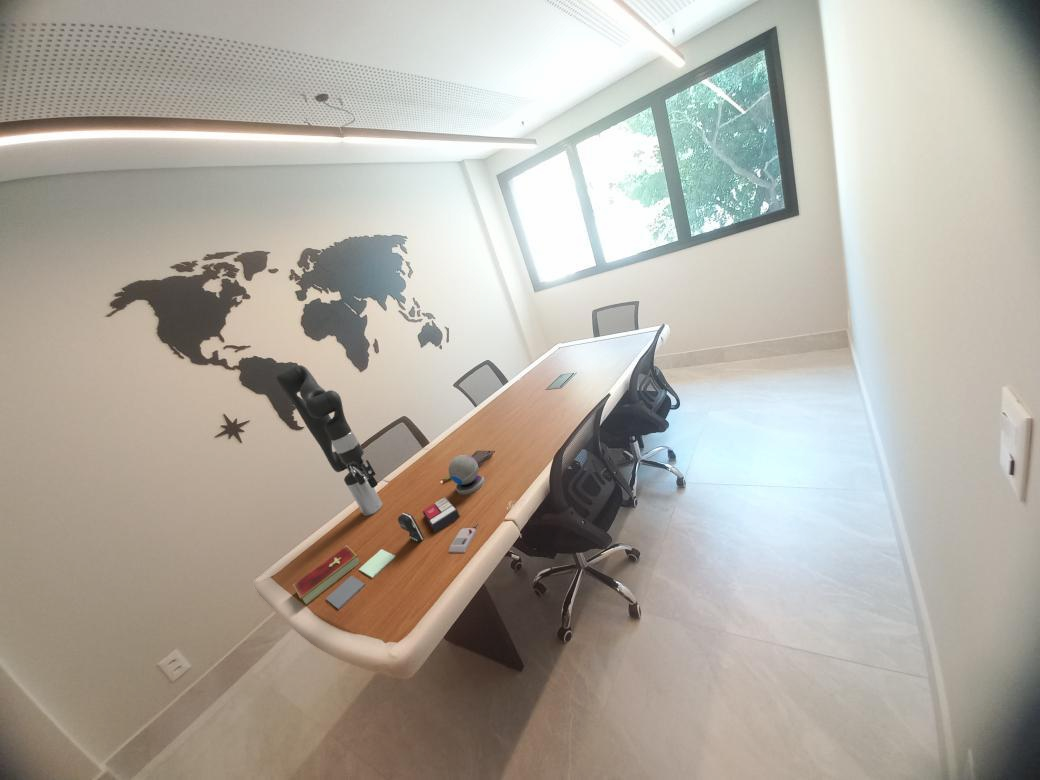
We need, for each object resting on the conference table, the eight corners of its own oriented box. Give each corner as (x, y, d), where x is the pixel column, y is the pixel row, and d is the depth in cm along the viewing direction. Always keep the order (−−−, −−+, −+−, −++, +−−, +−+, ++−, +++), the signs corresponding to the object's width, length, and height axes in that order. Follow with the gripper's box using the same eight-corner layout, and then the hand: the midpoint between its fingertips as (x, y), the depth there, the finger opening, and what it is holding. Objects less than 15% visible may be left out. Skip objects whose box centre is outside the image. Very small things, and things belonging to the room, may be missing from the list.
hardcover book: (297, 592, 138) (292, 583, 137) (351, 552, 151) (346, 544, 150) (305, 606, 130) (299, 598, 128) (361, 563, 142) (356, 554, 141)
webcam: (489, 477, 168) (477, 449, 163) (472, 496, 158) (459, 466, 154) (468, 475, 176) (456, 448, 171) (451, 493, 166) (438, 465, 161)
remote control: (446, 557, 129) (443, 551, 128) (466, 524, 142) (464, 518, 141) (462, 558, 126) (459, 551, 125) (481, 524, 139) (478, 518, 138)
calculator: (445, 495, 160) (456, 508, 147) (449, 503, 161) (460, 517, 148) (421, 509, 155) (430, 524, 142) (425, 518, 157) (435, 533, 143)
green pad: (359, 570, 138) (358, 569, 137) (382, 550, 144) (381, 549, 144) (372, 578, 131) (372, 577, 131) (395, 556, 138) (395, 555, 138)
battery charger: (407, 541, 144) (394, 517, 141) (415, 534, 147) (402, 511, 143) (417, 545, 140) (404, 521, 136) (425, 538, 142) (412, 514, 139)
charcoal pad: (326, 599, 129) (325, 598, 129) (352, 576, 136) (351, 575, 135) (338, 609, 122) (338, 608, 122) (365, 585, 129) (364, 584, 129)
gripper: (328, 451, 131) (350, 489, 136) (347, 454, 122) (369, 494, 127) (347, 439, 136) (367, 476, 141) (366, 441, 127) (387, 480, 132)
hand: (368, 485), depth 134 cm, fingers open, 8 cm apart
